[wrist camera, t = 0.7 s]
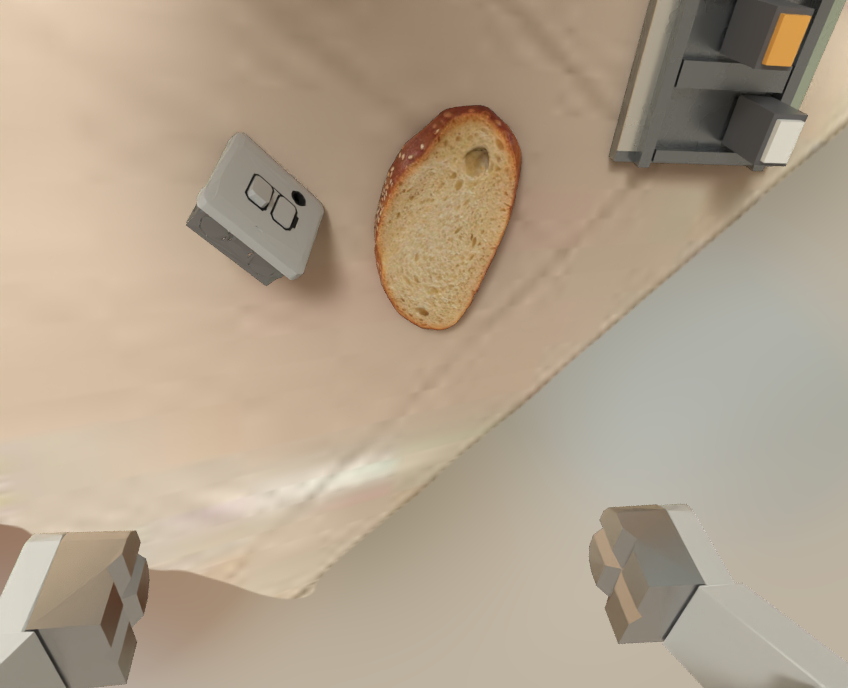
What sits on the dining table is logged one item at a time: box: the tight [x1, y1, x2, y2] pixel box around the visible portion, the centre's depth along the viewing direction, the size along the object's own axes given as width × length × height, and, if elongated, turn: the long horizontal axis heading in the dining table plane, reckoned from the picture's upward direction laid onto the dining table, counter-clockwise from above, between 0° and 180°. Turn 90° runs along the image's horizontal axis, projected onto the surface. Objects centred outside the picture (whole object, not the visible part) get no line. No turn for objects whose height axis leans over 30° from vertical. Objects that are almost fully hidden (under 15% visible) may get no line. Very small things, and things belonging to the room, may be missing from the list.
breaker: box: [722, 95, 808, 166], centre depth 49 cm, size 4×3×6 cm
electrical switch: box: [186, 133, 324, 286], centre depth 48 cm, size 9×5×9 cm, turn 41°
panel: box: [609, 0, 846, 171], centre depth 47 cm, size 22×15×2 cm
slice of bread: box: [374, 105, 521, 330], centre depth 55 cm, size 18×18×4 cm
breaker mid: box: [719, 0, 815, 71], centre depth 45 cm, size 4×3×6 cm
